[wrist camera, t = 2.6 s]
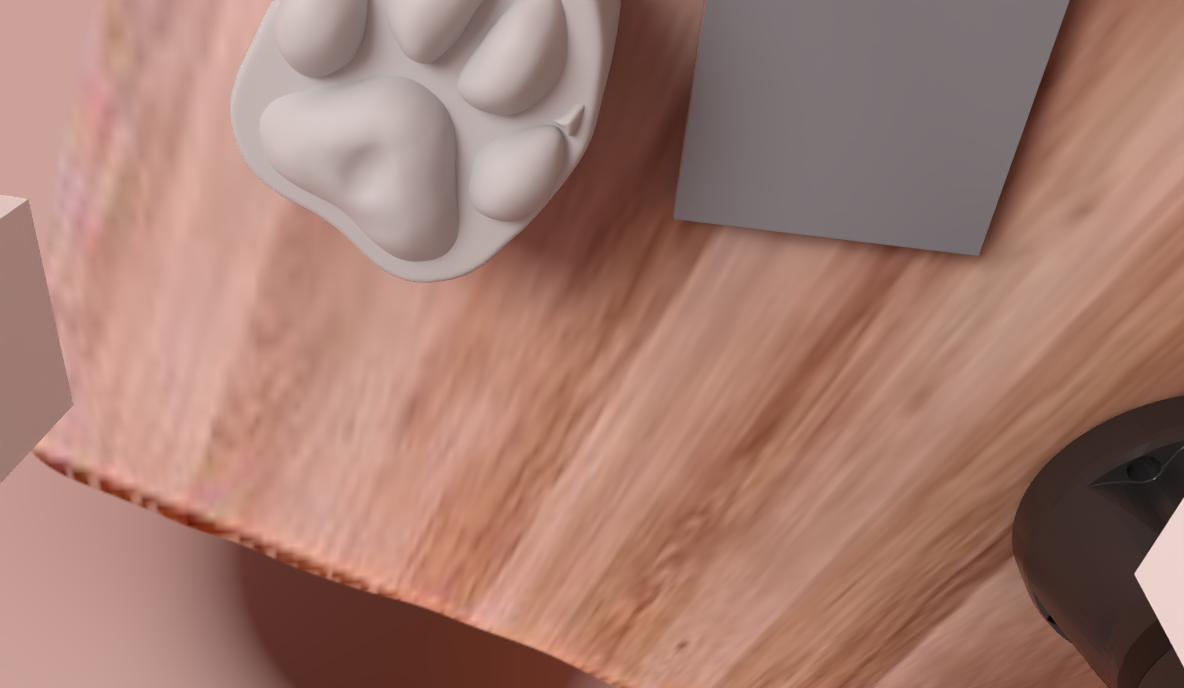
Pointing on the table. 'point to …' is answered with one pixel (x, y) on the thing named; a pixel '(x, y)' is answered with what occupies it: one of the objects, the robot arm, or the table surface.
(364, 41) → the lumpy-topped squat cylinder
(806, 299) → the table surface
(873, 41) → the gray board
